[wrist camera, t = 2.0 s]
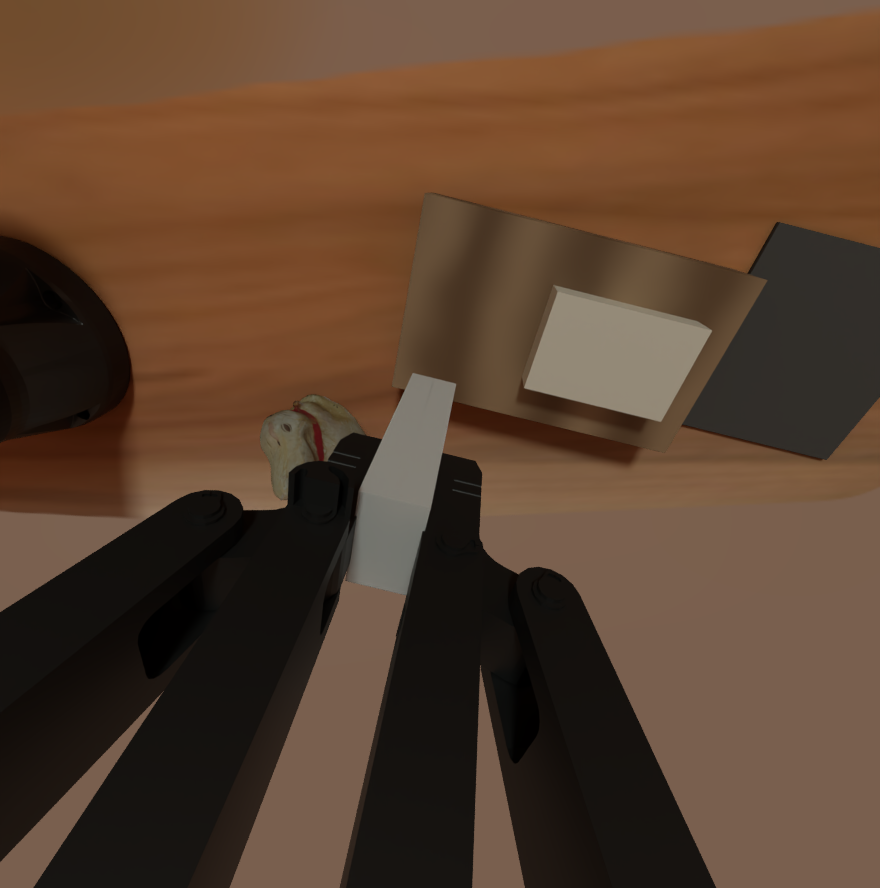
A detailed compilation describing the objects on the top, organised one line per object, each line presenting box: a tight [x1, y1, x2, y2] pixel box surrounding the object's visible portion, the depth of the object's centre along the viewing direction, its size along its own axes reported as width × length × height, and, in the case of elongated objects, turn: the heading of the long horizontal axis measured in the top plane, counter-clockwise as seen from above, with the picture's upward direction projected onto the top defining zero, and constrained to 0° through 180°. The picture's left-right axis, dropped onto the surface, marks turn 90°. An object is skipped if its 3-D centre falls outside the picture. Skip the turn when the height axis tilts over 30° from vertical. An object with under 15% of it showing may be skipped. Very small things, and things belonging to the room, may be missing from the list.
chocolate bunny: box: [260, 395, 365, 500], centre depth 33 cm, size 6×8×10 cm
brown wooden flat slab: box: [392, 193, 768, 453], centre depth 29 cm, size 20×12×4 cm, turn 78°
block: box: [522, 285, 712, 422], centre depth 26 cm, size 9×6×2 cm, turn 78°
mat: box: [683, 222, 880, 460], centre depth 30 cm, size 13×14×1 cm
